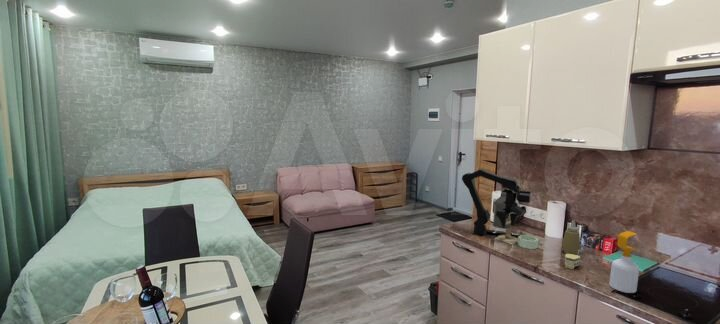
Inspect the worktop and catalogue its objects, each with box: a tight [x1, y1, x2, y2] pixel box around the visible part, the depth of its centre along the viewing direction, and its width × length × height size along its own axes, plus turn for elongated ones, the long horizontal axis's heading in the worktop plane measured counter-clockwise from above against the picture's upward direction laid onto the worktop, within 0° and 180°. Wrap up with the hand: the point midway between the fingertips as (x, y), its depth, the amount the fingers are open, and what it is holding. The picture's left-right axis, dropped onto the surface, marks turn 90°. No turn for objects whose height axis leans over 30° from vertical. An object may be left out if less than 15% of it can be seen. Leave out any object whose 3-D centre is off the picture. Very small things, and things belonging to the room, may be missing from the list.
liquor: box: [492, 184, 511, 229], centre depth 222 cm, size 9×9×30 cm
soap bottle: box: [609, 230, 640, 294], centre depth 140 cm, size 9×9×25 cm
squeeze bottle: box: [561, 219, 581, 255], centre depth 178 cm, size 8×8×18 cm
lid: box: [497, 228, 518, 244], centre depth 197 cm, size 11×11×6 cm
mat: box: [493, 236, 517, 245], centre depth 198 cm, size 11×11×1 cm
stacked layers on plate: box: [564, 253, 581, 270], centre depth 162 cm, size 10×9×6 cm
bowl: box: [517, 234, 540, 250], centre depth 188 cm, size 10×10×5 cm
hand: (508, 226), depth 197 cm, fingers open, 9 cm apart
